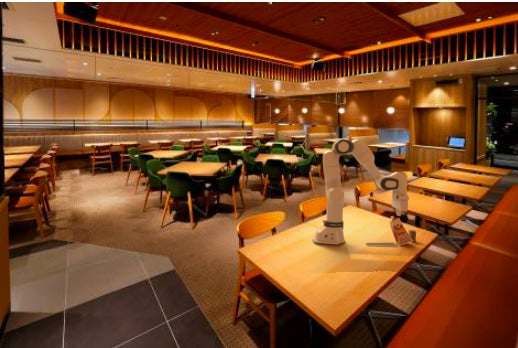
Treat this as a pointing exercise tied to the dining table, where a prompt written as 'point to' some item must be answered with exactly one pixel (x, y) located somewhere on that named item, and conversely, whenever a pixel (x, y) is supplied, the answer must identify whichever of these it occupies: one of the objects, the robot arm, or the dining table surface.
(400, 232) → the milk carton
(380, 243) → the strip
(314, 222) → the dining table surface
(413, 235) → the walnut block
